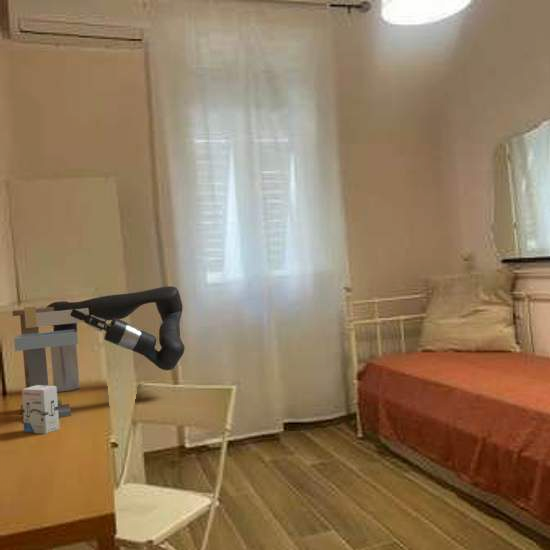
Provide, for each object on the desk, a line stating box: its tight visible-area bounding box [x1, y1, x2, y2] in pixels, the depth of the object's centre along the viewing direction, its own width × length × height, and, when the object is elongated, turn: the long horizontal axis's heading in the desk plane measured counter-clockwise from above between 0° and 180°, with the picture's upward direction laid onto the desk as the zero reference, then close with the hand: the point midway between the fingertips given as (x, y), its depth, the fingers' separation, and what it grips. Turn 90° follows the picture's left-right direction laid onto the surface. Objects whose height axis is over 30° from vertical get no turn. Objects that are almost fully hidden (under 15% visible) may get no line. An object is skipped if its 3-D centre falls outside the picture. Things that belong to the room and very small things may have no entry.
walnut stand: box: [12, 307, 63, 415], centre depth 189 cm, size 9×12×32 cm
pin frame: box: [13, 330, 79, 419], centre depth 178 cm, size 14×17×24 cm
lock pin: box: [23, 305, 90, 328], centre depth 179 cm, size 6×18×6 cm, turn 112°
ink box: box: [21, 385, 60, 435], centre depth 158 cm, size 9×5×12 cm, turn 62°
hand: (71, 311), depth 181 cm, fingers closed on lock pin, 4 cm apart
